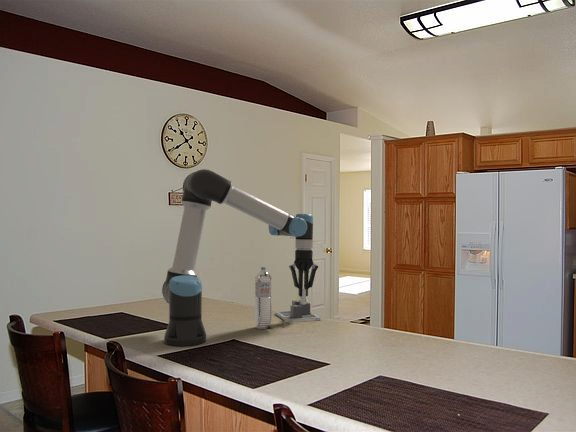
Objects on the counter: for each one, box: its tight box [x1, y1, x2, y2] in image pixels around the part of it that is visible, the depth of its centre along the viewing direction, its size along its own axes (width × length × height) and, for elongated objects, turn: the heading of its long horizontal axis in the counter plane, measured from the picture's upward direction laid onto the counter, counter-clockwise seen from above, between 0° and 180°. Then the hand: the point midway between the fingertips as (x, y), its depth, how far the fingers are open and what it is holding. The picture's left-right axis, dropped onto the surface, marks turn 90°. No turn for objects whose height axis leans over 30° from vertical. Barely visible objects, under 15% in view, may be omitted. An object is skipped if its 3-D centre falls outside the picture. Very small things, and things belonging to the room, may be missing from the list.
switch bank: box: [274, 310, 321, 323], centre depth 220 cm, size 19×15×3 cm
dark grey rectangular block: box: [289, 304, 302, 319], centre depth 214 cm, size 4×4×6 cm
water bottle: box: [254, 266, 273, 330], centre depth 205 cm, size 7×7×25 cm
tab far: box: [291, 299, 301, 305], centre depth 227 cm, size 4×4×6 cm
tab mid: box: [299, 301, 311, 315], centre depth 221 cm, size 4×4×6 cm
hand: (303, 303), depth 215 cm, fingers closed
